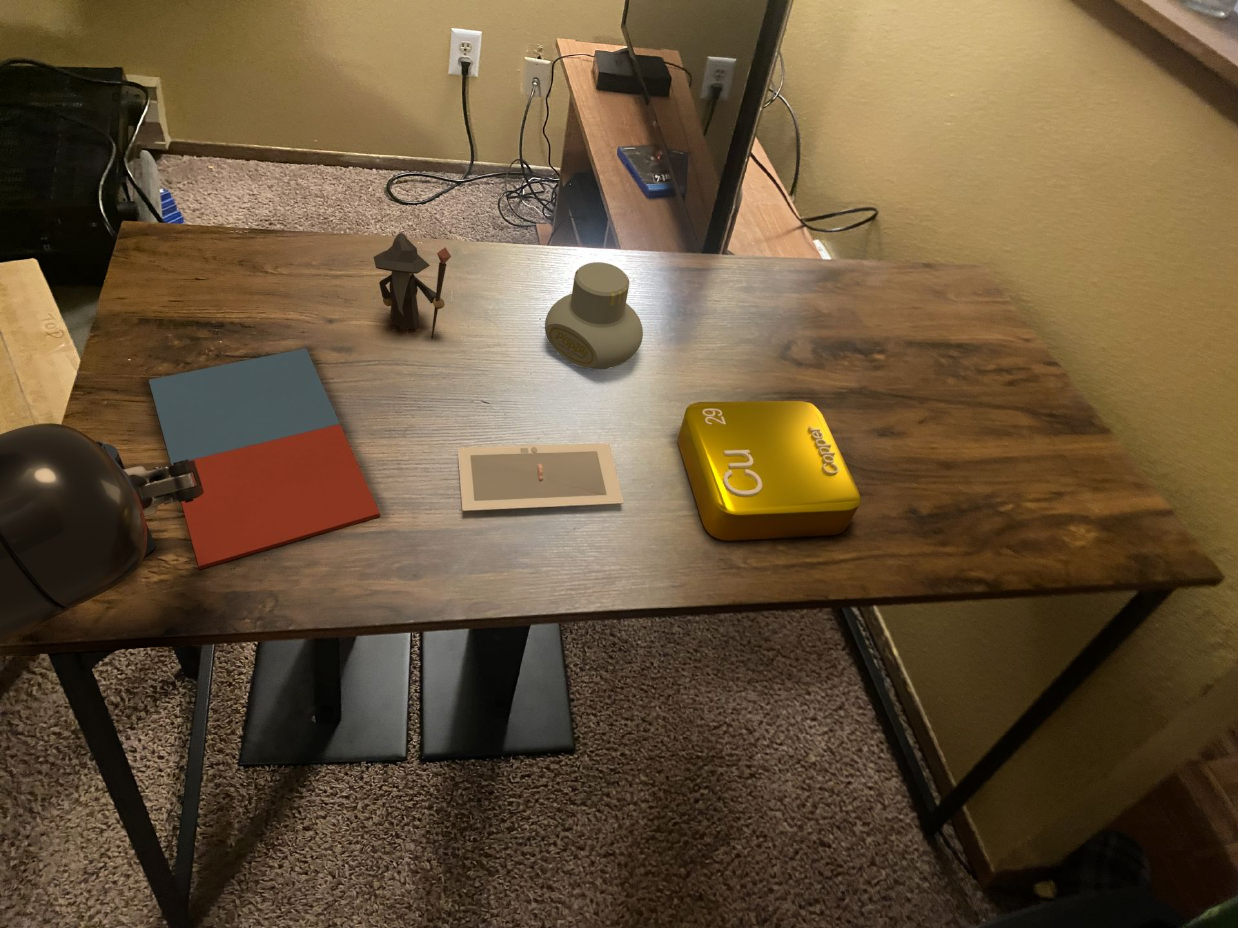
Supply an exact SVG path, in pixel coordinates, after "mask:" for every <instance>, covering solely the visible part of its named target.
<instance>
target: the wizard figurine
mask: <svg viewBox="0 0 1238 928" xmlns="http://www.w3.org/2000/svg"><path fill="white" fill-rule="evenodd" d="M436 254H437V257H438V259H439V262H438V270H437V279H436V280H437V281H436V290H433V289H431V288H429V286H427V285H426V284H425V283H424V282H422V281H421V280H420V279H419V278H418V277H417V276H415V275H417V274H419V273H421V272H422V271H424V270H427V269H428V268H429V267H430V266H431V264H430V263H428V262H427V260H425V259H424V258H423V257H421V256H420V254H418V248H417V246H415V245H414V244H413V243H412V242H411V240H410V239H408V237H407V235H405V233H404V232H400V233H398V234H397V235H396V236H395V238H394V239H393V242H392V245H391V246H390V247H389V248H388V249H387V250H384V251H382V252H380V253H377V254H376V255H375V256H373V262H374V265H375V269H378V270H383V271H388V272H391V273H390V275H388V276H386V277H385V278H382V279H381V280H380V281H379V282H378V284H379V288H380V294H381V297H382V303H383V305H384V306H386V307H390V314H389V319H390V322H391V327H390V328H391V330H392V331H395V332H397V333H398V332H400V330H407V333H408V334H411V333H412V334H413V333H417V330H418V329H417V328H418V327H419V326H420V325H421V320H420V313H419V305H418V298H417V295H418V289H419V290H420V291H421V293H422V294H423V295H424V296H425V298H426V299H427V301H428V302H429V303H430V304H432V305H433V307H434V310H433V318H432V327H431V336H430V338H431V339H434V336H435V335H434V334H435V328H436V324H437V317H438V311H439V310H441V309H443V308H444V307H445V305H446V304H445V300H444V299H443V298H442V297H441V295H442V291H443V290H442V289H443V284H444V281H445V275H446V269H447V262H448V261H449V260H450V259H451V258H452V255H451V254H450V252H449V251H448V249H447V247H443V248H442V249H440V250H439V251H438V252H437V253H436ZM387 285H389V286H388V287H387Z"/></svg>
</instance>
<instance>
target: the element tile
mask: <svg viewBox="0 0 1238 928" xmlns="http://www.w3.org/2000/svg"><path fill="white" fill-rule="evenodd" d="M677 443H678V447H679V450H680V453H681V457H682V460H683V463H684V467H685V470H686V473H687V477H688V481H689V483H690V486H691V490H692V492H693V496H694V499H695V503H696V506H697V509H698V512H699V516H700V519H701V522H702V525H703V527H704V529H705V530H706V532H707V533H708V535H710V536H711V537H713V538H715V539H717V540H721V541H724V542H725V541H727V542H732V541H751V540H752V541H753V540H770V539H787V538H789V539H790V538H808V537H809V538H810V537H825V536H835V535H839V534H841V533H843V532H845V531H846V529H847V528H848V526H849V525H850V523H851V521H852V519H853V517H854V516H855V514H856V512H857V510H858V509H859V506H860V504H861V494H860V493H861V492H860V491H859V488H858V486H857V484H856V482H855V480H854V478H853V476H852V474H851V471H850V470H849V467H848V465H847V464H846V461H845V459H844V457H843V454H842V453H841V450H840V449H839V446H838V443H837V442H836V440H835V438H834V436H833V434H832V432H831V430H830V427H829V425H828V424H827V421H826V419H825V417H824V415H823V413H822V412H821V410H820V409H818V407H817V406H815V404H813V403H811V402H807V401H804V400H803V401H802V400H752V401H751V400H749V401H748V400H745V401H744V400H743V401H739V400H737V401H698V402H697V401H696V402H694V403H691V404H689V405H688V406H686V408H685V411H684V415H683V418H682V421H681V425H680V428H679V432H678V435H677Z"/></svg>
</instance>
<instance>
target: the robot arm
mask: <svg viewBox="0 0 1238 928" xmlns="http://www.w3.org/2000/svg"><path fill="white" fill-rule="evenodd" d="M95 441H96V440H94V439H93V438H91V437H89V436H88V435H87V434H85V433H84V432H82V431H80V430H78V429H75V428H73V427H72V426H68V425H65V424H61V423H55V422H43V423H41V422H40V423H36V424H31V425H26V426H21V427H18V428H15V429H11V430H8V431H6V432H2V433H0V644H2V643H4V642H7V641H9V640H11V639H12V638H14V637H16V636H18V635H21V634H23V633H25V632H26V631H28V630H30V629H33V628H35V627H37V626H39V625H41V624H43V623H45V622H47V621H49V620H51V619H53V618H55V617H57V616H59V615H61V614H63V613H65V612H67V611H69V609H72V608H73V609H74V608H75V607H78V606H79V605H82V604H84V603H86V602H87V601H89V600H92V599H93V598H96V597H98V596H100V595H102V594H103V593H106V592H107V591H109V590H110V589H112V588H114V587H116V586H117V585H119V584H120V583H122V582H124V581H125V580H126V579H127V578H128V577H129V576H131V575H132V574H133V573H134V572H135V571H136V570H138V568H139V567H140V565H141V563H142V562H143V560H144V558H145V556H146V555H145V552H146V546H147V527H146V523H147V521H146V518H147V517H150V516H153V515H156V514H157V513H158V510H159V506H160V505H164V506H165V505H170V504H173V503H174V504H175V503H181V502H183V501H185V503H187V502H191V501H194V500H193V499H194V498H197V497H199V496H201V495H202V494H203V493H204V491H203V487H201V486H202V484H201V481H200V477H199V474H198V471H197V468H196V467H195V466H196V465H195V461H194V460H192V461H188V459H187V460H183V461H179V462H175V463H173V464H174V465H172V466H171V465H169V466H164V467H163V466H162V465H159V466H154V467H152V469H151V470H148V469H146V467H144V466H143V465H136V466H132V467H127V468H125V469H122V468H121V467H120V465H119V464H118V463H117V462H116V461H115V459H114V458H113V457H112V456H111V455H110V454H109V453H108V452H107V451H106V450H105V449H103V448H102V447H101V446H100V445H99V444H98V443H97V442H95ZM145 521H146V522H145ZM144 555H145V556H144Z"/></svg>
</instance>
